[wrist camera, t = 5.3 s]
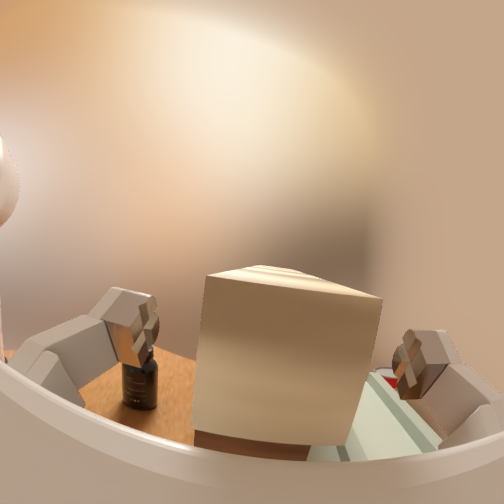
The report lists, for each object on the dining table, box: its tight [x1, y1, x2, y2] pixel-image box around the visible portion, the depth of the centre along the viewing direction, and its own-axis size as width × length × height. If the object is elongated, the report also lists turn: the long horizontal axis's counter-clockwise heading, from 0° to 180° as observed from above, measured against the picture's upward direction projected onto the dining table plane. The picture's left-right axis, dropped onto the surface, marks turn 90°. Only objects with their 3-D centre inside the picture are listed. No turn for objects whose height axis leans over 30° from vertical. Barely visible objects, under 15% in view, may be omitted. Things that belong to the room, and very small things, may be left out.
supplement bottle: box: [122, 346, 158, 410], centre depth 45 cm, size 7×7×12 cm
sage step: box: [306, 372, 443, 462], centre depth 20 cm, size 18×12×19 cm, turn 176°
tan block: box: [191, 265, 383, 446], centre depth 17 cm, size 24×4×4 cm, turn 176°
